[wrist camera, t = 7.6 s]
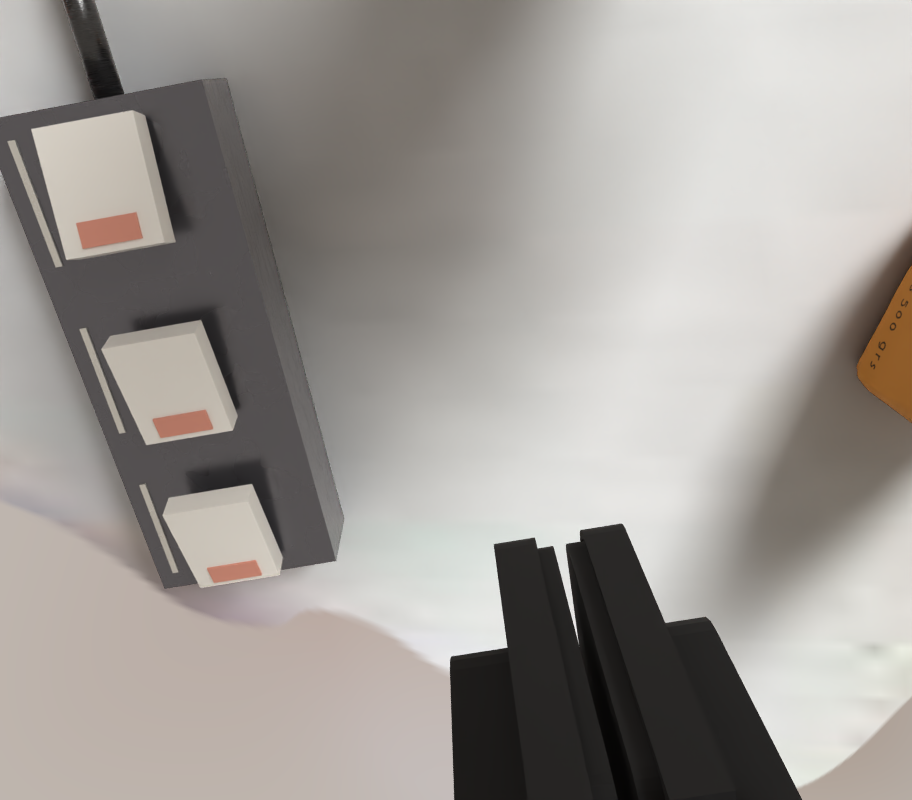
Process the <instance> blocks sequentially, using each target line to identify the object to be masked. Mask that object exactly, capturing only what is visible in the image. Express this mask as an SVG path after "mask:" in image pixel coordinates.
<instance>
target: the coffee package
mask: <svg viewBox="0 0 912 800" xmlns="http://www.w3.org/2000/svg"><path fill="white" fill-rule="evenodd" d="M857 370H858V371H857V376H858V378H859V380H860V381H861V382H862V384H863V385H864V386H865V387H866V389H867V390H868V391H870V392H871V393H872V394H873V395H875V396H876V397H877V398H879V399H880V400H882V401H883V402H884V403H886V404H887V405H888V406H890V407H891V408H892V409H894V410H895V411H896V412H898V413H899V414H900V415H902V416H903V417H904V418H906V419H907V420H908V421H910V422H911V423H912V265H911V267H910V268H909V270H908V272H907V273H906V275H905V277H904V278H903V280H902V282H901V284H900V285H899V287H898V289H897V290H896V292H895V294H894V296H893V298H892V300H891V302H890V304H889V306H888V308H887V310H886V312H885V314H884V316H883V318H882V320H881V322H880V323H879V325H878V327H877V329H876V331H875V332H874V334H873V336H872V338H871V339H870V341H869V343H868V345H867V347H866V349H865V351H864V352H863V354H862V356H861V358H860V360H859V362H858V364H857Z"/></svg>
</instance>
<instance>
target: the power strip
mask: <svg viewBox="0 0 912 800" xmlns="http://www.w3.org/2000/svg"><path fill="white" fill-rule="evenodd" d="M62 3H63V6H64V9H65V12H66V15H67V18H68V21H69V24H70V27H71V30H72V33H73V36H74V39H75V42H76V45H77V48H78V51H79V54H80V57H81V60H82V63H83V66H84V69H85V72H86V75H87V78H88V81H89V84H90V87H91V90H92V93H93V96H94V99H95V100H91V101H85V102H80V103H75V104H70V105H64V106H59V107H54V108H48V109H43V110H38V111H32V112H27V113H22V114H16V115H11V116H6V117H0V170H1V172H2V175H3V177H4V180H5V183H6V185H7V188H8V190H9V193H10V195H11V198H12V200H13V203H14V205H15V208H16V211H17V213H18V216H19V218H20V221H21V223H22V226H23V228H24V231H25V234H26V236H27V239H28V241H29V244H30V246H31V249H32V251H33V254H34V256H35V259H36V262H37V264H38V267H39V269H40V272H41V274H42V277H43V279H44V282H45V285H46V287H47V290H48V292H49V295H50V297H51V300H52V302H53V305H54V307H55V310H56V313H57V315H58V318H59V320H60V323H61V325H62V328H63V330H64V333H65V336H66V338H67V341H68V343H69V346H70V348H71V351H72V353H73V356H74V358H75V361H76V364H77V366H78V369H79V371H80V374H81V376H82V379H83V381H84V384H85V387H86V389H87V392H88V394H89V397H90V399H91V402H92V404H93V407H94V409H95V412H96V415H97V417H98V420H99V422H100V425H101V427H102V430H103V432H104V435H105V438H106V440H107V443H108V445H109V448H110V450H111V453H112V455H113V458H114V461H115V463H116V466H117V468H118V471H119V473H120V476H121V478H122V481H123V483H124V486H125V489H126V491H127V494H128V496H129V499H130V501H131V504H132V506H133V509H134V512H135V514H136V517H137V519H138V522H139V524H140V527H141V529H142V532H143V534H144V537H145V540H146V542H147V545H148V547H149V550H150V552H151V555H152V557H153V560H154V563H155V565H156V568H157V570H158V573H159V575H160V578H161V580H162V583H163V585H164V588H165V589H166V588H172V587H178V586H184V585H190V584H196V583H198V582H197V580H196V578H195V576H194V575H193V573H192V571H191V569H190V567H189V565H188V563H187V561H186V559H185V557H184V556H183V554H182V552H181V550H180V548H179V546H178V544H177V542H176V540H175V538H174V537H173V535H172V533H171V531H170V529H169V527H168V525H167V523H166V521H165V519H164V518H163V516H162V515H163V513H164V510H165V507H166V504H167V501H168V498H170V497H176V496H182V495H188V494H194V493H200V492H206V491H212V490H218V489H224V488H230V487H236V486H242V485H248V484H252V485H253V487H254V490H255V492H256V495H257V497H258V499H259V502H260V504H261V506H262V509H263V511H264V514H265V516H266V518H267V521H268V523H269V526H270V528H271V530H272V533H273V535H274V537H275V540H276V542H277V545H278V547H279V549H280V552H281V554H282V557H283V559H282V566H281V570H283V569H289V568H295V567H301V566H307V565H314V564H320V563H326V562H332V561H336V559H337V553H338V548H339V543H340V538H341V532H342V527H343V522H344V517H343V513H342V509H341V505H340V502H339V498H338V494H337V490H336V487H335V483H334V479H333V475H332V472H331V468H330V464H329V461H328V457H327V453H326V449H325V446H324V442H323V438H322V434H321V431H320V427H319V423H318V419H317V416H316V412H315V408H314V404H313V401H312V397H311V393H310V389H309V386H308V382H307V378H306V374H305V371H304V367H303V363H302V360H301V356H300V352H299V348H298V345H297V341H296V337H295V333H294V330H293V326H292V322H291V318H290V315H289V311H288V307H287V303H286V300H285V296H284V292H283V288H282V285H281V281H280V277H279V273H278V270H277V266H276V262H275V259H274V255H273V251H272V247H271V244H270V240H269V236H268V232H267V229H266V225H265V221H264V217H263V214H262V210H261V206H260V202H259V199H258V195H257V191H256V187H255V184H254V180H253V176H252V172H251V169H250V165H249V161H248V158H247V154H246V150H245V146H244V143H243V139H242V135H241V131H240V128H239V124H238V120H237V116H236V113H235V109H234V105H233V101H232V98H231V94H230V90H229V86H228V83H227V79H226V78H224V79H205V80H197V81H192V82H187V83H181V84H176V85H171V86H165V87H160V88H155V89H149V90H144V91H139V92H133V93H128V94H124V91H123V88H122V85H121V82H120V79H119V76H118V73H117V69H116V66H115V63H114V60H113V57H112V54H111V51H110V47H109V44H108V41H107V38H106V35H105V32H104V29H103V25H102V22H101V19H100V16H99V13H98V10H97V7H96V3H95V0H62ZM131 110H133V111H136V112H138V113H141V114H143V115H145V117H146V121H147V125H148V129H149V134H150V138H151V142H152V146H153V150H154V154H155V159H156V163H157V167H158V171H159V175H160V179H161V183H162V188H163V192H164V196H165V200H166V204H167V208H168V213H169V217H170V221H171V225H172V229H173V233H174V238H175V243H169V244H164V245H158V246H153V247H147V248H142V249H136V250H131V251H125V252H119V253H114V254H108V255H103V256H97V257H92V258H86V259H79V260H66V257H65V253H64V250H63V246H62V242H61V238H60V235H59V231H58V227H57V224H56V220H55V216H54V212H53V209H52V205H51V201H50V197H49V194H48V190H47V186H46V183H45V179H44V175H43V171H42V168H41V164H40V160H39V157H38V153H37V149H36V145H35V142H34V138H33V134H32V131H31V129H34V128H40V127H45V126H50V125H56V124H61V123H66V122H72V121H77V120H82V119H88V118H93V117H98V116H104V115H109V114H114V113H120V112H125V111H131ZM198 320H201V321H202V324H203V326H204V329H205V331H206V334H207V337H208V339H209V342H210V344H211V347H212V350H213V352H214V355H215V358H216V360H217V363H218V365H219V368H220V371H221V373H222V376H223V378H224V381H225V384H226V386H227V389H228V391H229V394H230V397H231V399H232V402H233V405H234V407H235V410H236V412H237V415H238V417H237V420H236V423H235V426H234V429H233V431H227V432H221V433H215V434H209V435H203V436H198V437H192V438H186V439H180V440H174V441H168V442H162V443H156V444H150V445H146V443H145V441H144V439H143V437H142V435H141V433H140V431H139V428H138V426H137V424H136V422H135V420H134V418H133V416H132V414H131V412H130V409H129V407H128V405H127V403H126V401H125V399H124V397H123V395H122V392H121V390H120V388H119V386H118V384H117V382H116V380H115V378H114V376H113V373H112V371H111V369H110V367H109V365H108V363H107V361H106V359H105V357H104V354H103V352H102V350H101V349H102V347H103V346H104V344H105V343H106V341H107V340H108V339H109V337H110V336H112V335H118V334H124V333H130V332H135V331H141V330H147V329H152V328H158V327H164V326H169V325H175V324H181V323H186V322H192V321H198Z"/></svg>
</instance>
